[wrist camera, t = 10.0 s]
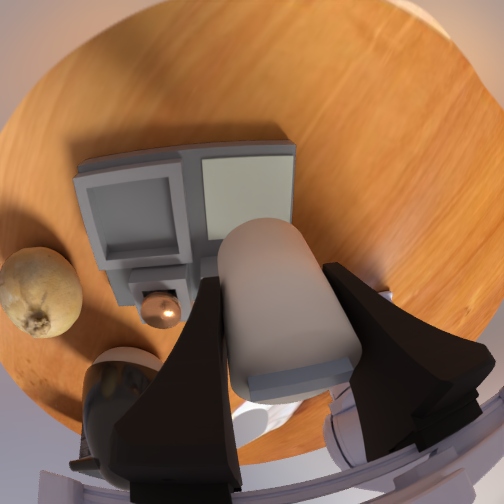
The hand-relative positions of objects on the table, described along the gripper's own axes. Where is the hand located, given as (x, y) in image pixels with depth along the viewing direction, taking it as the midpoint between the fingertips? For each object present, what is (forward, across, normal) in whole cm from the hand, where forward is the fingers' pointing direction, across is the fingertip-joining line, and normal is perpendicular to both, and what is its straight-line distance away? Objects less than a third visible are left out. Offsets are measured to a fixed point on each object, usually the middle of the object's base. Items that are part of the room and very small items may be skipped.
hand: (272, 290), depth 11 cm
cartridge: (+2, 0, 0) cm, 2 cm away
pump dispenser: (+11, +13, +18) cm, 25 cm away
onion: (+11, +17, +5) cm, 21 cm away
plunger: (+8, +6, +6) cm, 12 cm away
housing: (+10, +4, +2) cm, 11 cm away
